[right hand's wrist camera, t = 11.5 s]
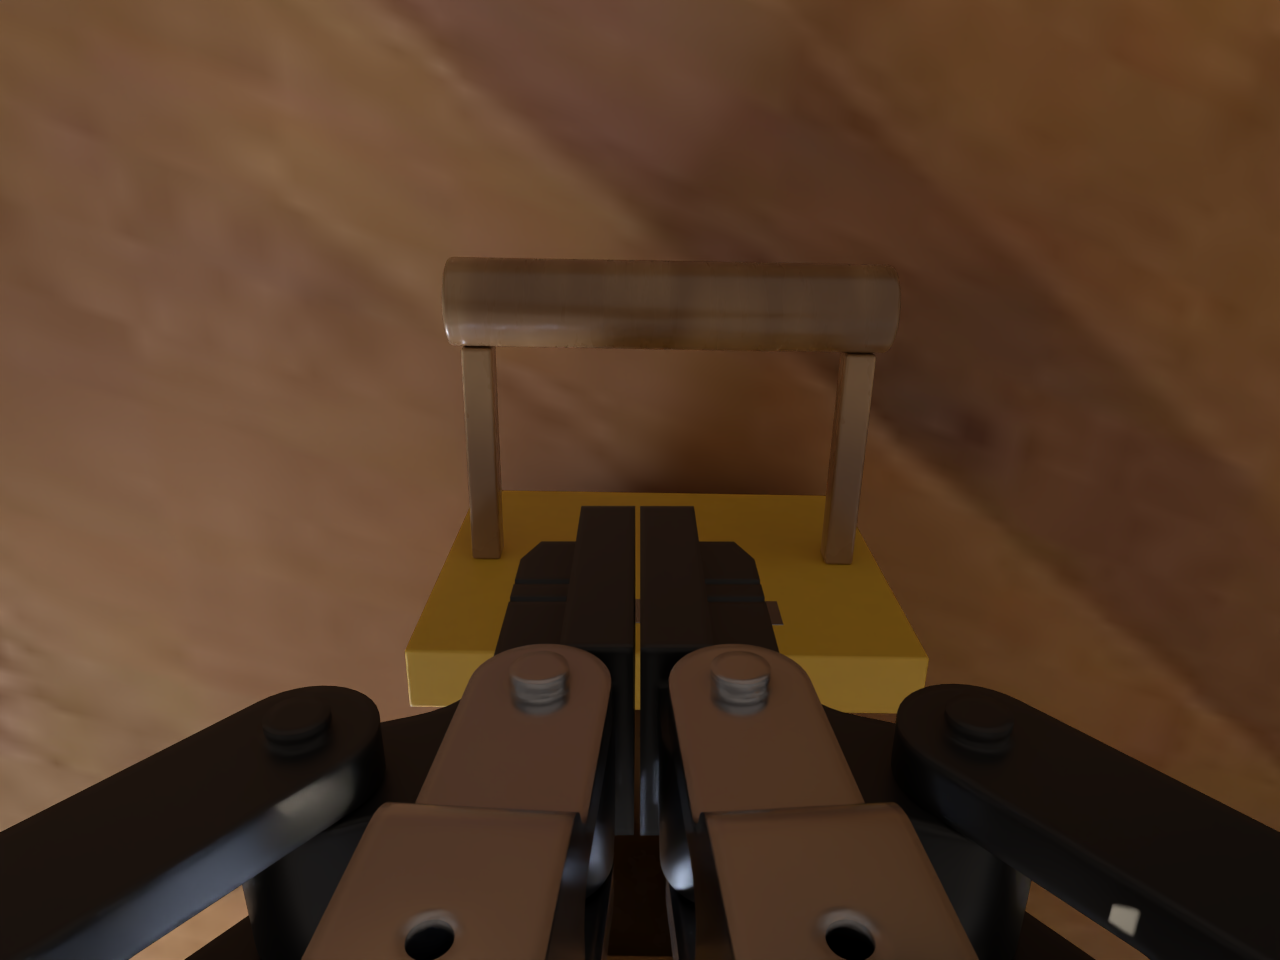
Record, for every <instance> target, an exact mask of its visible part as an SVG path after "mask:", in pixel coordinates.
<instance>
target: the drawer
mask: <svg viewBox="0 0 1280 960" xmlns="http://www.w3.org/2000/svg"><path fill="white" fill-rule="evenodd" d="M900 307H901V293H900V283H899V278H898V274H897V271H896V269H895V268H894V267H893V266H891V265H871V264H815V263H759V262H703V261H647V260H591V259H535V258H479V257H451V258H449V259H448V260H447V262H446V264H445V268H444V272H443V278H442V316H443V324H444V329H445V333H446V336H447V339H448V341H449V343H450V344H452V345H454V346H463V347H462V349H461V363H462V381H463V398H464V416H465V433H466V451H467V468H468V486H469V503H470V508H469V510H468V513H467V515H466V517H465V519H464V521H463V524H462V526H461V528H460V530H459V533H458V535H457V537H456V539H455V541H454V544H453V546H452V548H451V550H450V552H449V555H448V557H447V559H446V561H445V563H444V566H443V568H442V570H441V572H440V574H439V577H438V579H437V581H436V583H435V586H434V588H433V590H432V592H431V594H430V597H429V599H428V601H427V603H426V605H425V608H424V610H423V612H422V614H421V616H420V619H419V621H418V623H417V625H416V628H415V630H414V632H413V634H412V636H411V639H410V641H409V643H408V645H407V647H406V650H405V658H406V669H407V680H408V691H409V702H410V705H411V706H420V707H446V706H448V705H450V704H452V703H454V702H457V701H458V700H460V699H461V698H462V695H463V693H464V691H465V688H466V686H467V684H468V682H469V679H470V678H471V676H472V674H473V673H474V671H475V670H476V669H477V668H478V667H479V666H480V665H481V664H483V663H484V662H485V661H486V660H488V659H490V658H491V657H493V656H494V653H495V649H496V645H497V642H498V638H499V635H500V631H501V627H502V624H503V620H504V617H505V613H506V609H507V606H508V602H510V595H511V592H512V588H513V584H515V577H516V574H517V570H518V566H519V563H520V559H521V558H522V557H524V556H525V555H526V554H527V553H528V552H529V551H531V550H532V549H533V548H534V547H535V546H536V545H538V544H539V543H540V542H541V541H576V537H577V530H578V524H579V517H580V511H581V506H635V593H636V646H635V765H634V835H614V906H613V914H612V922H611V930H610V938H609V946H608V953H607V955H609V956H673V953H672V946H671V938H670V930H669V922H668V914H667V906H666V877H665V875H664V873H663V870H662V868H661V863H660V847H659V836H640V506H694V510H695V516H696V523H697V530H698V537H699V541H734V542H735V543H736V544H737V545H739V546H740V547H741V548H742V549H743V550H744V551H746V552H747V553H748V554H749V555H750V556H751V557H753V558H754V559H755V563H756V567H757V570H758V574H759V578H760V584H761V585H762V589H763V593H764V597H765V602H766V604H767V608H768V612H769V615H770V619H771V623H772V626H773V630H774V634H775V638H776V641H777V645H778V649H779V653H781V654H783V655H785V656H787V657H789V658H790V659H792V660H794V661H795V662H796V663H797V664H799V665H800V666H801V667H802V668H803V669H804V670H805V671H806V673H807V674H808V676H809V678H810V679H811V682H812V684H813V686H814V688H815V691H816V693H817V695H818V698H819V700H820V702H821V704H823V705H825V706H827V707H829V708H832V709H835V710H838V711H841V712H844V713H896V714H897V711H898V708H899V705H900V704H901V702H902V701H903V700H904V699H905V698H906V697H907V696H908V695H910V694H911V693H913V692H915V691H917V690H919V689H921V688H924V687H925V680H926V674H927V668H928V662H929V658H928V656H927V654H926V652H925V650H924V649H923V647H922V645H921V643H920V641H919V639H918V638H917V636H916V634H915V632H914V630H913V628H912V627H911V625H910V623H909V621H908V619H907V618H906V616H905V614H904V612H903V610H902V608H901V607H900V605H899V603H898V601H897V599H896V597H895V596H894V594H893V592H892V590H891V588H890V586H889V585H888V583H887V581H886V579H885V577H884V575H883V574H882V572H881V570H880V568H879V566H878V565H877V563H876V561H875V559H874V557H873V555H872V554H871V552H870V550H869V548H868V546H867V544H866V543H865V541H864V539H863V537H862V535H861V533H860V532H859V530H858V528H857V518H858V509H859V501H860V492H861V484H862V475H863V467H864V458H865V449H866V441H867V432H868V424H869V415H870V407H871V398H872V389H873V381H874V372H875V364H876V356H875V355H874V354H873V353H885V352H887V351H888V350H889V349H890V348H891V346H892V344H893V342H894V339H895V337H896V333H897V329H898V324H899V318H900ZM495 346H499V347H557V348H615V349H673V350H732V351H790V352H841V353H840V363H839V373H838V383H837V393H836V402H835V412H834V422H833V432H832V442H831V452H830V462H829V471H828V481H827V491H826V496H812V495H751V494H689V493H627V492H565V491H504V490H501V468H500V444H499V421H498V397H497V374H496V350H495Z"/></svg>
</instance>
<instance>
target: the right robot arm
mask: <svg viewBox="0 0 1280 960" xmlns="http://www.w3.org/2000/svg"><path fill="white" fill-rule="evenodd" d="M635 646H636V593H635V506H581V511H580V517H579V524H578V530H577V537H576V541H541V542H540V543H539V544H538V545H536V546H535V547H534V548H533V549H532V550H531V551H529V552H528V553H527V554H526V555H525V556H524V557H522V558H521V559H520V563H519V566H518V570H517V574H516V577H515V584H513V588H512V592H511V595H510V602H508V606H507V609H506V613H505V617H504V620H503V624H502V627H501V631H500V635H499V638H498V642H497V645H496V649H495V653H494V656H493V657H491V658H490V659H488V660H486V661H485V662H484V663H483V664H481V665H480V666H479V667H478V668H477V669H476V670H475V671H474V673H473V674H472V676H471V678H470V679H469V682H468V684H467V686H466V688H465V691H464V693H463V695H462V698H461V699H460V700H458V701H457V702H454V703H452V704H450V705H448V706H446V707H443V708H440V709H437V710H435V711H432V712H428V713H424V714H420V715H415V716H411V717H406V718H401V719H396V720H391V721H386V722H381V723H380V715H379V711H378V709H377V706H376V705H375V704H374V702H373V701H372V700H371V699H370V698H368V697H367V696H366V695H364V694H362V693H360V692H358V691H356V690H352V689H349V688H344V687H337V686H311V687H304V688H298V689H293V690H289V691H285V692H282V693H279V694H276V695H273V696H270V697H268V698H266V699H263V700H261V701H259V702H257V703H255V704H253V705H251V706H249V707H247V708H245V709H243V710H241V711H239V712H237V713H235V714H233V715H231V716H229V717H227V718H225V719H223V720H221V721H219V722H217V723H215V724H213V725H211V726H209V727H207V728H205V729H203V730H201V731H199V732H197V733H195V734H193V735H192V736H190V737H188V738H186V739H184V740H182V741H180V742H178V743H176V744H174V745H172V746H170V747H168V748H166V749H164V750H162V751H160V752H158V753H156V754H154V755H152V756H150V757H148V758H146V759H144V760H142V761H140V762H138V763H136V764H134V765H132V766H130V767H128V768H126V769H124V770H122V771H120V772H118V773H116V774H114V775H113V776H111V777H109V778H107V779H105V780H103V781H101V782H99V783H97V784H95V785H93V786H91V787H89V788H87V789H85V790H83V791H81V792H79V793H77V794H75V795H73V796H71V797H69V798H67V799H65V800H63V801H61V802H59V803H57V804H55V805H53V806H51V807H49V808H47V809H45V810H43V811H41V812H39V813H37V814H36V815H34V816H32V817H30V818H28V819H26V820H24V821H22V822H20V823H18V824H16V825H14V826H12V827H10V828H8V829H6V830H4V831H2V832H0V960H129V959H130V958H131V957H133V956H134V955H136V954H137V953H139V952H140V951H142V950H143V949H145V948H146V947H148V946H149V945H151V944H152V943H154V942H155V941H157V940H158V939H160V938H161V937H163V936H164V935H166V934H167V933H169V932H170V931H172V930H173V929H175V928H176V927H178V926H180V925H181V924H183V923H184V922H186V921H187V920H189V919H190V918H192V917H193V916H195V915H196V914H198V913H199V912H201V911H202V910H204V909H205V908H207V907H208V906H210V905H211V904H213V903H214V902H216V901H217V900H219V899H221V898H222V897H224V896H225V895H227V894H228V893H230V892H231V891H233V890H234V889H236V888H237V887H239V886H240V885H242V886H243V890H244V895H245V900H246V904H247V909H248V914H249V916H247V917H246V918H244V919H243V920H241V921H240V922H238V923H237V924H235V925H234V926H233V927H231V928H230V929H228V930H227V931H225V932H224V933H222V934H221V935H220V936H218V937H217V938H215V939H214V940H212V941H211V942H209V943H208V944H206V945H205V946H204V947H202V948H201V949H199V950H198V951H196V952H195V953H193V954H192V955H191V956H189V957H188V958H186V959H185V960H607V953H608V946H609V938H610V930H611V922H612V914H613V906H614V835H634V765H635ZM640 836H659V847H660V863H661V868H662V870H663V873H664V875H665V877H666V906H667V914H668V922H669V930H670V938H671V946H672V953H673V960H1095V959H1094V958H1092V957H1091V956H1089V955H1088V954H1087V953H1085V952H1084V951H1082V950H1081V949H1079V948H1078V947H1076V946H1075V945H1073V944H1072V943H1071V942H1069V941H1068V940H1066V939H1065V938H1063V937H1062V936H1060V935H1059V934H1058V933H1056V932H1055V931H1053V930H1052V929H1050V928H1049V927H1047V926H1046V925H1044V924H1043V923H1042V922H1040V921H1039V920H1037V919H1036V918H1034V917H1033V916H1031V915H1030V914H1029V913H1027V912H1026V911H1025V909H1026V904H1027V899H1028V894H1029V890H1030V885H1031V880H1032V881H1034V882H1035V883H1037V884H1038V885H1040V886H1041V887H1043V888H1044V889H1046V890H1047V891H1049V892H1050V893H1052V894H1053V895H1055V896H1056V897H1058V898H1059V899H1061V900H1062V901H1064V902H1066V903H1067V904H1069V905H1070V906H1072V907H1073V908H1075V909H1076V910H1078V911H1079V912H1081V913H1082V914H1084V915H1085V916H1087V917H1088V918H1090V919H1091V920H1093V921H1094V922H1096V923H1097V924H1099V925H1100V926H1102V927H1103V928H1105V929H1107V930H1108V931H1110V932H1111V933H1113V934H1114V935H1116V936H1117V937H1119V938H1120V939H1122V940H1123V941H1125V942H1126V943H1128V944H1129V945H1131V946H1132V947H1134V948H1135V949H1137V950H1138V951H1140V952H1141V953H1142V954H1144V955H1145V956H1147V957H1148V958H1149V959H1150V960H1280V832H1278V831H1276V830H1274V829H1272V828H1270V827H1268V826H1266V825H1264V824H1262V823H1260V822H1258V821H1256V820H1254V819H1252V818H1250V817H1248V816H1246V815H1244V814H1242V813H1241V812H1239V811H1237V810H1235V809H1233V808H1231V807H1229V806H1227V805H1225V804H1223V803H1221V802H1219V801H1217V800H1215V799H1213V798H1211V797H1209V796H1207V795H1205V794H1203V793H1201V792H1199V791H1197V790H1195V789H1193V788H1191V787H1189V786H1187V785H1185V784H1183V783H1181V782H1179V781H1177V780H1175V779H1173V778H1171V777H1169V776H1167V775H1165V774H1163V773H1162V772H1160V771H1158V770H1156V769H1154V768H1152V767H1150V766H1148V765H1146V764H1144V763H1142V762H1140V761H1138V760H1136V759H1134V758H1132V757H1130V756H1128V755H1126V754H1124V753H1122V752H1120V751H1118V750H1116V749H1114V748H1112V747H1110V746H1108V745H1106V744H1104V743H1102V742H1100V741H1098V740H1096V739H1094V738H1092V737H1090V736H1088V735H1086V734H1085V733H1083V732H1081V731H1079V730H1077V729H1075V728H1073V727H1071V726H1069V725H1067V724H1065V723H1063V722H1061V721H1059V720H1057V719H1055V718H1053V717H1051V716H1049V715H1047V714H1045V713H1043V712H1041V711H1039V710H1037V709H1035V708H1033V707H1031V706H1029V705H1027V704H1025V703H1023V702H1021V701H1019V700H1017V699H1015V698H1013V697H1010V696H1008V695H1006V694H1003V693H1000V692H997V691H994V690H991V689H987V688H983V687H978V686H972V685H963V684H940V685H933V686H928V687H925V688H921V689H919V690H917V691H915V692H913V693H911V694H910V695H908V696H907V697H906V698H905V699H904V700H903V701H902V702H901V704H900V705H899V708H898V711H897V717H896V724H895V723H890V722H885V721H881V720H876V719H871V718H866V717H861V716H856V715H852V714H848V713H844V712H841V711H838V710H835V709H832V708H829V707H827V706H825V705H823V704H821V702H820V700H819V698H818V695H817V693H816V691H815V688H814V686H813V684H812V682H811V679H810V678H809V676H808V674H807V673H806V671H805V670H804V669H803V668H802V667H801V666H800V665H799V664H797V663H796V662H795V661H794V660H792V659H790V658H789V657H787V656H785V655H783V654H781V653H779V649H778V645H777V641H776V638H775V634H774V630H773V626H772V623H771V619H770V615H769V612H768V608H767V604H766V602H765V597H764V593H763V589H762V585H761V584H760V578H759V574H758V570H757V567H756V563H755V559H754V558H753V557H751V556H750V555H749V554H748V553H747V552H746V551H744V550H743V549H742V548H741V547H740V546H739V545H737V544H736V543H735V542H734V541H699V537H698V530H697V523H696V516H695V510H694V506H640Z"/></svg>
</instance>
